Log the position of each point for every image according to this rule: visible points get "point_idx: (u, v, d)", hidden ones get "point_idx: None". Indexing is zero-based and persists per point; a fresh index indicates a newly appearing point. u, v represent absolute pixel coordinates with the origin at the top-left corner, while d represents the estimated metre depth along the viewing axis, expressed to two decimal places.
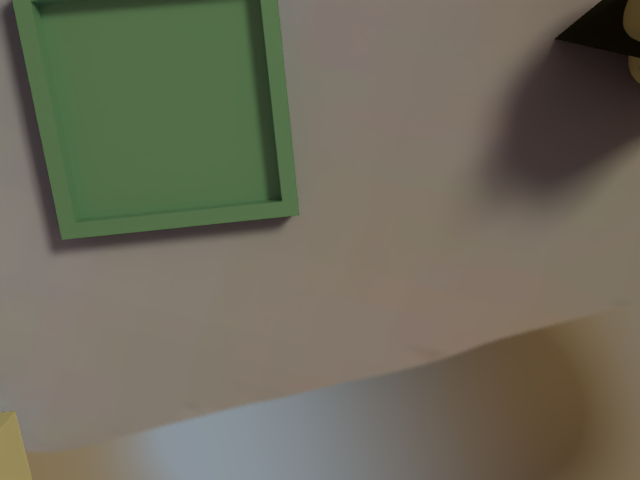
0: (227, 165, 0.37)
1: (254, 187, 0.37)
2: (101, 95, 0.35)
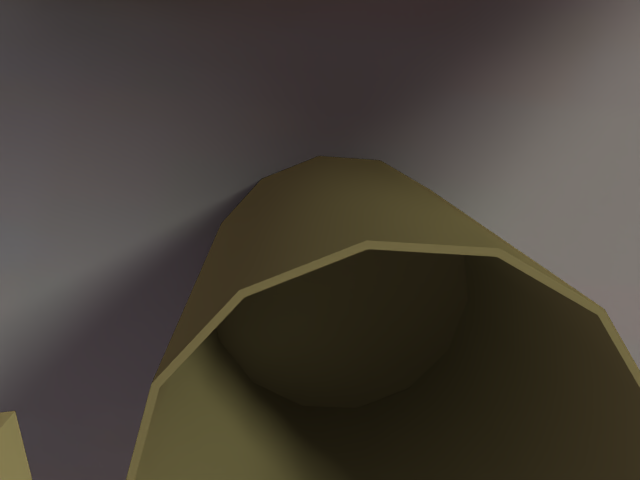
0: None
1: None
2: None
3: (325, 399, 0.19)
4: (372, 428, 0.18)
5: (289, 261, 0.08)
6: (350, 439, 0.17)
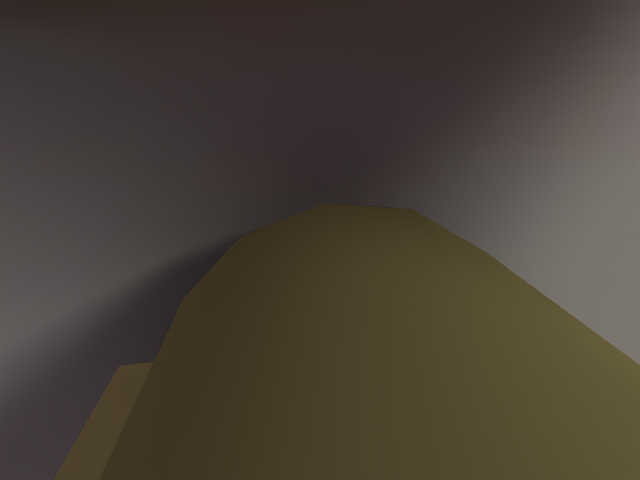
0: None
1: None
2: None
3: None
4: None
5: None
6: None
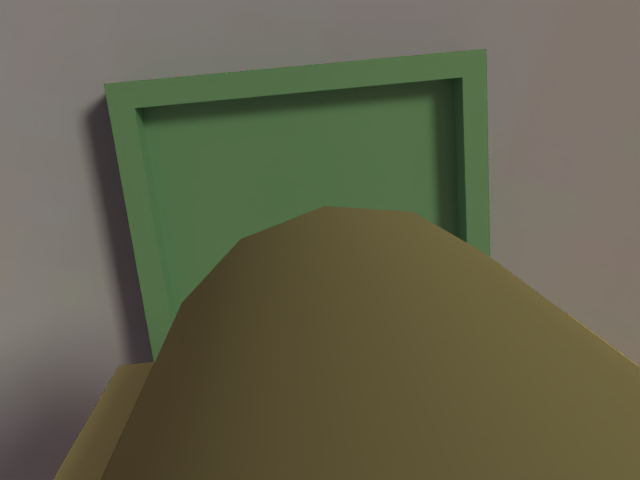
0: None
1: None
2: (224, 230, 0.25)
3: None
4: None
5: None
6: None
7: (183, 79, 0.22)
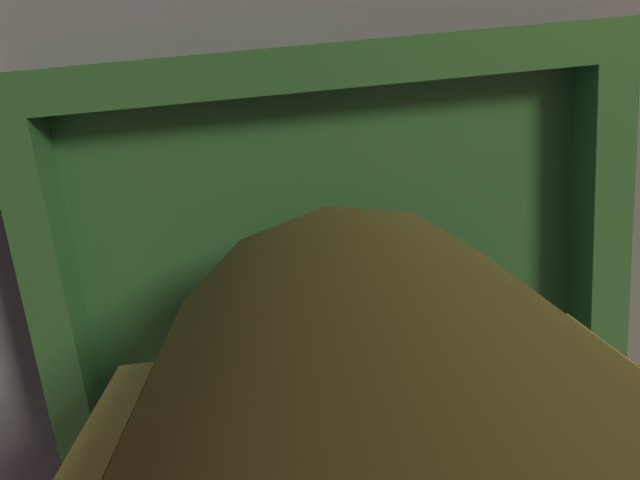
0: None
1: None
2: None
3: None
4: None
5: None
6: None
7: (112, 67, 0.12)
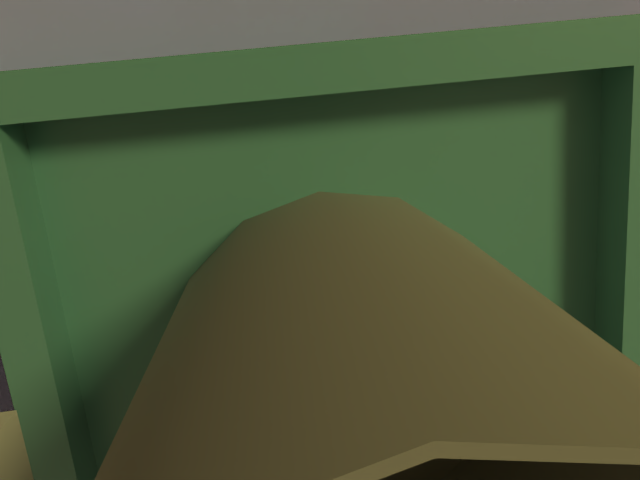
0: None
1: None
2: None
3: None
4: None
5: (269, 462, 0.04)
6: None
7: (92, 68, 0.11)
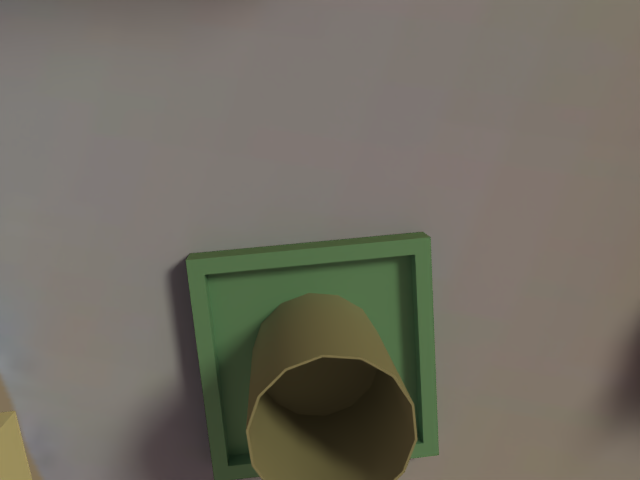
0: None
1: None
2: None
3: (309, 411, 0.38)
4: (332, 425, 0.37)
5: (299, 359, 0.27)
6: (321, 429, 0.36)
7: (236, 257, 0.35)
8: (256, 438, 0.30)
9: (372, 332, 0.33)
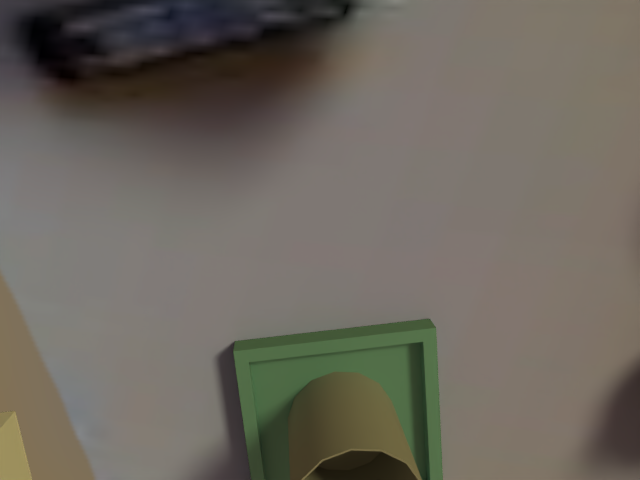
0: None
1: None
2: None
3: (335, 467, 0.45)
4: None
5: (332, 450, 0.35)
6: None
7: (274, 348, 0.42)
8: None
9: (388, 412, 0.40)
